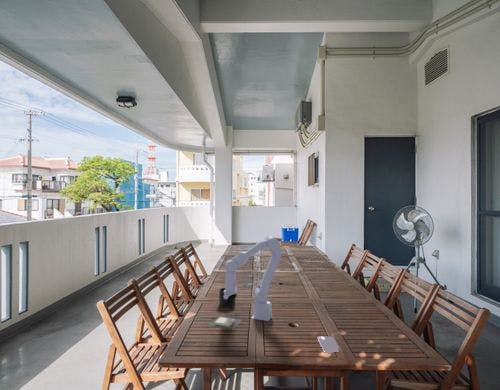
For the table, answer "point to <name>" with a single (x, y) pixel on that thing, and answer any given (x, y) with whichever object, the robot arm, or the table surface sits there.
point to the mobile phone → (328, 344)
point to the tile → (224, 321)
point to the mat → (225, 326)
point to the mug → (221, 298)
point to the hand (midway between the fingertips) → (230, 308)
